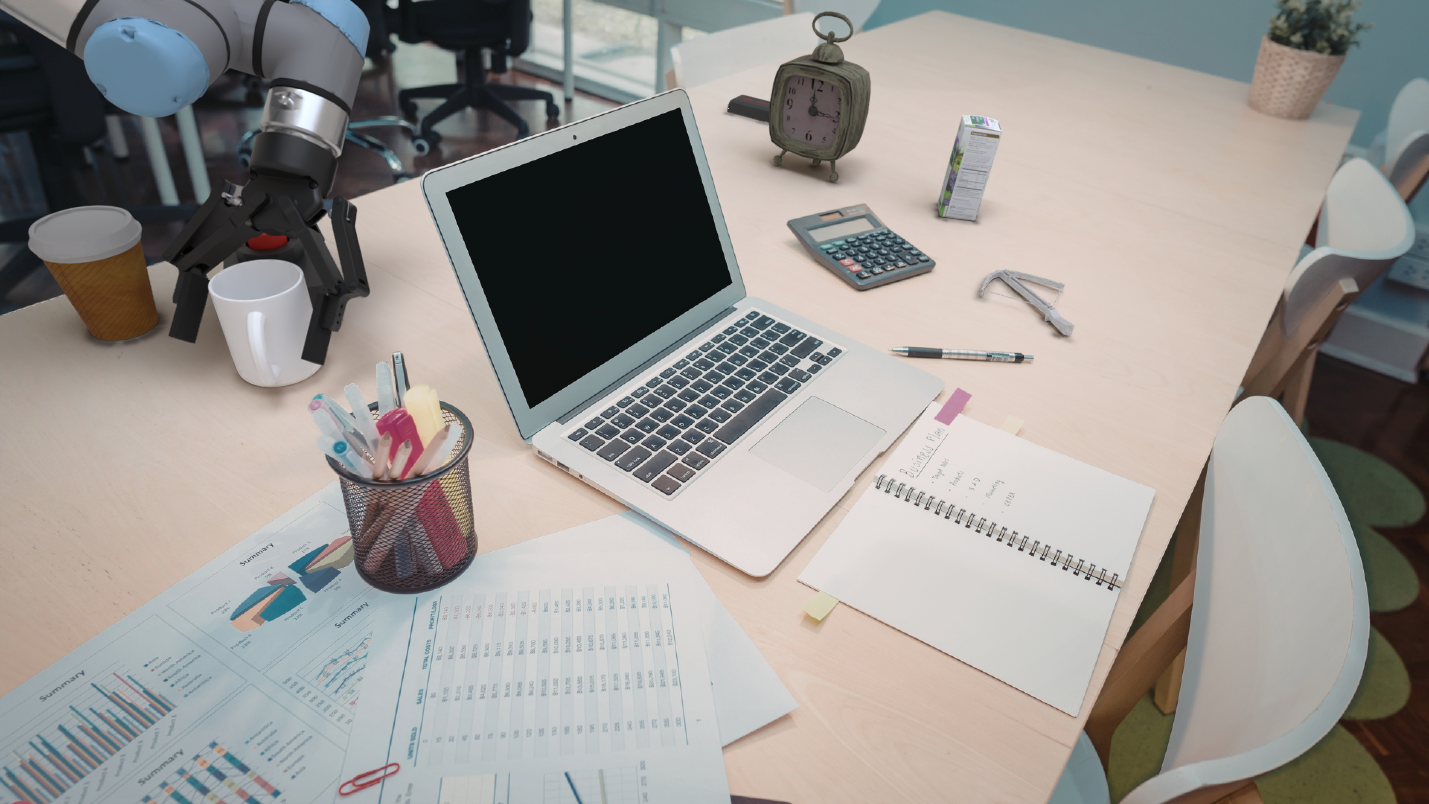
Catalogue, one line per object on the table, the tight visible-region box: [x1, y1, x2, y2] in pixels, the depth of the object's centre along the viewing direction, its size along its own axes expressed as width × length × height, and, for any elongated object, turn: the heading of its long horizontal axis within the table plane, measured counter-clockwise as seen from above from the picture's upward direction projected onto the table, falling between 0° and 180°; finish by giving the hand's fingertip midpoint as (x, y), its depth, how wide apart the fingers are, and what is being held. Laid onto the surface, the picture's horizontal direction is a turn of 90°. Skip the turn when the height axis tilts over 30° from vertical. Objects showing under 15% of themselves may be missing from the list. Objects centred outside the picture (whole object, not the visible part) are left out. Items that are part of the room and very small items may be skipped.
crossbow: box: [979, 268, 1075, 336], centre depth 107 cm, size 16×13×2 cm
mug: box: [208, 259, 322, 388], centre depth 80 cm, size 12×8×10 cm
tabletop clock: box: [768, 10, 872, 183], centre depth 132 cm, size 14×9×25 cm, turn 58°
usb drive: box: [726, 94, 770, 123], centre depth 159 cm, size 5×12×3 cm, turn 59°
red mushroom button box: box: [222, 237, 328, 308], centre depth 93 cm, size 12×10×6 cm
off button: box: [248, 233, 288, 250], centre depth 93 cm, size 4×4×2 cm
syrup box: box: [937, 114, 1003, 222], centre depth 125 cm, size 6×6×14 cm
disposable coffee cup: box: [27, 204, 160, 342], centre depth 85 cm, size 10×10×12 cm
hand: (246, 351), depth 78 cm, fingers open, 13 cm apart
